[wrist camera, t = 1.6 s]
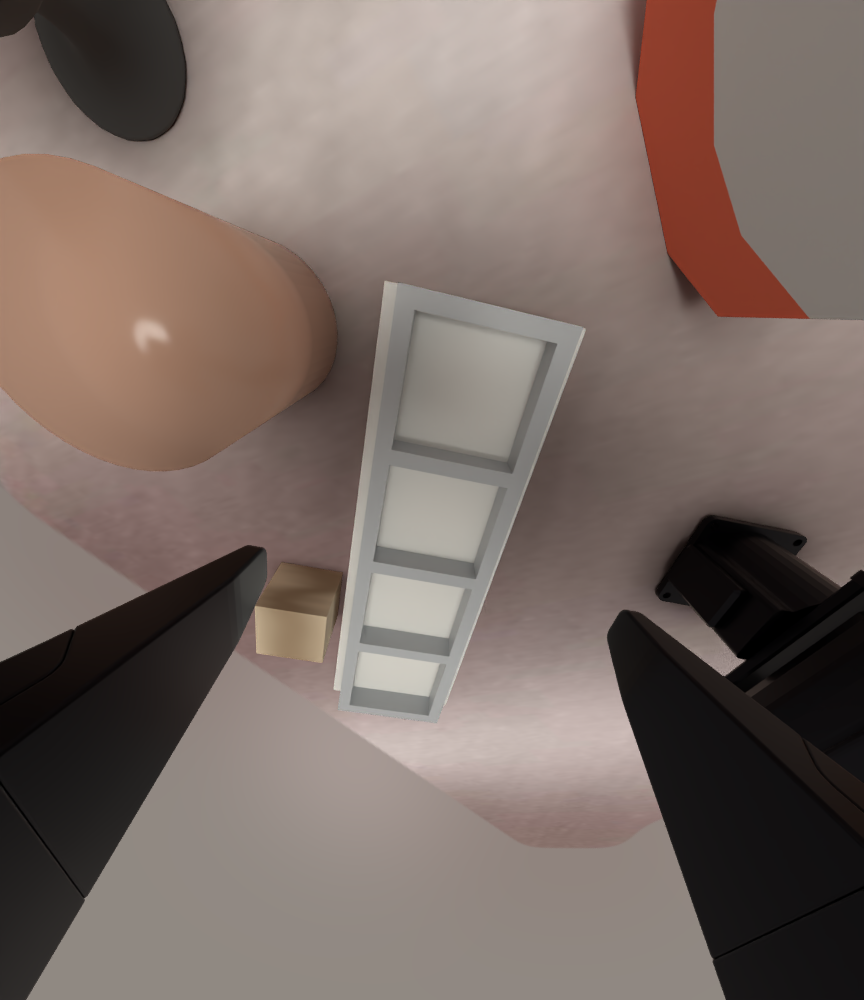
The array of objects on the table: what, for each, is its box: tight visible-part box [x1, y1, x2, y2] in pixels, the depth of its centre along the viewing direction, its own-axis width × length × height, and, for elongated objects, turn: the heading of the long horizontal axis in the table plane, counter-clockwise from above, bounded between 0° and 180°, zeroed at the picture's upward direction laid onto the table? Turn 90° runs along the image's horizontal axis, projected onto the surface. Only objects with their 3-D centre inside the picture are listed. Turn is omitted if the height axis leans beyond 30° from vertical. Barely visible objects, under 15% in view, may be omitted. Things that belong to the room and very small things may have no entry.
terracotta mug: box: [0, 154, 338, 471], centre depth 13 cm, size 8×7×9 cm
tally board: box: [334, 281, 586, 723], centre depth 22 cm, size 9×28×2 cm, turn 168°
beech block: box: [255, 562, 343, 663], centre depth 23 cm, size 4×4×4 cm
